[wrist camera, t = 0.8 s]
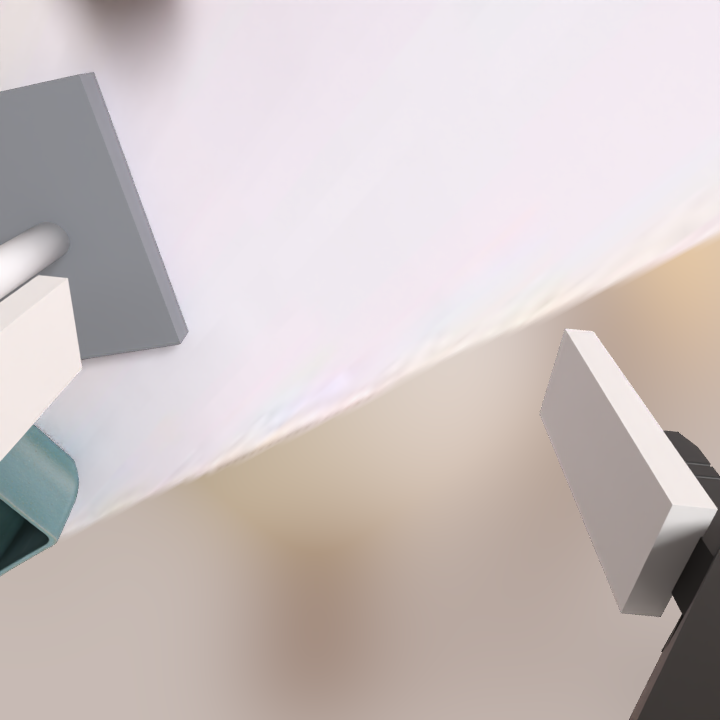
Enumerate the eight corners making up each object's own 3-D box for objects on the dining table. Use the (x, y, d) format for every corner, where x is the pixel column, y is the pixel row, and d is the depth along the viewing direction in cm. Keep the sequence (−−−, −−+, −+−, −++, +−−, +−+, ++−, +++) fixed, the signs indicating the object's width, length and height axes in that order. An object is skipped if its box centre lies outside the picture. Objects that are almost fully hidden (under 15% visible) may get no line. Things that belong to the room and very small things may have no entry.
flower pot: (29, 393, 48) (-40, 464, 40) (108, 464, 51) (59, 543, 43) (-38, 441, 51) (-115, 516, 43) (41, 506, 54) (-16, 586, 46)
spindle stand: (-81, 110, 38) (-283, 144, 26) (93, 72, 36) (-39, 90, 25) (43, 354, 46) (-68, 460, 35) (188, 331, 45) (122, 434, 33)
